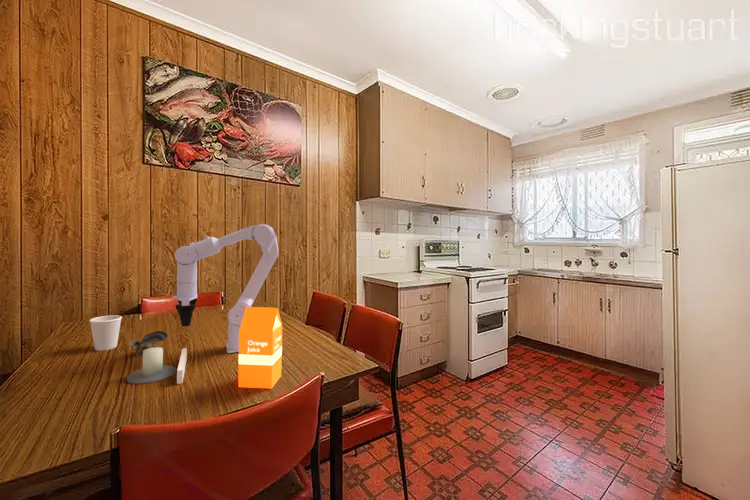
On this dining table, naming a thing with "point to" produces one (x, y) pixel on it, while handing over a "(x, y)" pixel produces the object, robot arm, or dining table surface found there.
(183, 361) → the divider wall
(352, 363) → the dining table surface
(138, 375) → the rubber mat
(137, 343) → the eagle figurine
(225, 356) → the dining table surface
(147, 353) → the sage cylinder
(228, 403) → the dining table surface
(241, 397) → the dining table surface
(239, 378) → the orange juice
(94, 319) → the dixie cup
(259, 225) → the robot arm
